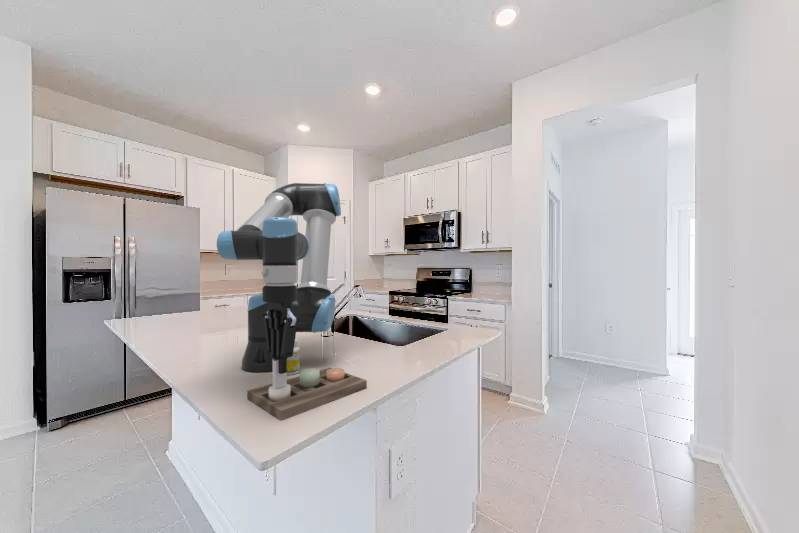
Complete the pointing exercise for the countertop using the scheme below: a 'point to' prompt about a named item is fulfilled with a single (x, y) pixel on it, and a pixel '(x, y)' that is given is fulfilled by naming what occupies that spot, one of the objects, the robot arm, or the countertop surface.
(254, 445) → the countertop surface
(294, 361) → the supplement bottle
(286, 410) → the wooden tray
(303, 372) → the sage button
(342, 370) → the terracotta button
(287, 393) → the cream button
